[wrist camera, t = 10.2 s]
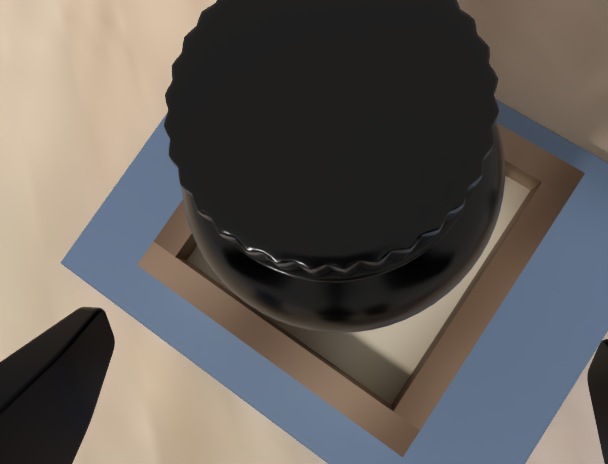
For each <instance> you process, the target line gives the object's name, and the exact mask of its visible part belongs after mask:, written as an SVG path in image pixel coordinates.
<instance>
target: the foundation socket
mask: <svg viewBox="0 0 608 464" xmlns="http://www.w3.org/2000/svg"><path fill="white" fill-rule="evenodd" d="M497 124H498V123H497ZM498 127H499V130H500V134H501V138H502V143H503V149H504V158H505V184H504V194H503V200H502V205H501V209H500V213H499V216H498V220H497V223H496V226H495V228H494V231H493V233H492V235H491V238H490V240H489V242H488V244H487V246H486V247H485V249H484V251H483V253H482V255H481V256H480V258H479V259H478V261H477V262H476V263H475V265H474V266H473V268H472V269H471V270H470V271H469V273H468V274H467V275H466V276H465V277H464V278H463V279H462V281H461V282H460V283H459V284H458V285H457V286H455V287H454V288H453V289H452V290H451V291H450V292H449V293H448V294H447V295H445V296H444V297H443V298H441V299H440V300H439V301H437V302H436V303H435V304H433V305H432V306H430V307H428V308H427V309H425V310H423V311H422V312H420V313H418V314H416V315H414V316H412V317H410V318H408V319H406V320H403V321H401V322H398V323H395V324H392V325H390V326H386V327H382V328H378V329H374V330H368V331H361V332H350V333H332V332H320V331H314V330H307V329H304V328H300V327H296V326H292V325H289V324H286V323H284V322H281V321H278V320H276V319H274V318H272V317H270V316H267V315H265V314H263V313H261V312H260V311H258V310H257V309H255V308H253V307H252V306H250V305H248V304H247V303H246V302H245V301H243V300H242V299H241V298H239V297H238V296H237V295H235V294H234V293H233V292H232V291H231V290H230V289H229V288H228V287H227V286H226V285H225V284H224V283H223V282H222V281H221V280H220V278H219V277H218V276H217V275H216V274H215V273H214V271H213V270H212V269H211V267H210V266H209V264H208V263H207V261H206V260H205V258H204V257H203V255H202V253H201V251H200V249H199V248H198V246H197V243H196V241H195V239H194V237H193V234H192V232H191V229H190V226H189V223H188V220H187V217H186V213H185V208H184V203H183V200H182V201H181V203H180V204H179V206H178V207H177V208H176V210H175V211H174V213H173V214H172V216H171V217H170V218H169V220H168V221H167V223H166V224H165V226H164V227H163V228H162V230H161V231H160V233H159V234H158V236H157V237H156V238H155V240H154V241H153V243H152V244H151V245H150V247H149V248H148V250H147V251H146V253H145V254H144V255H143V257H142V258H141V260H140V261H139V263H138V264H137V265H138V266H139V267H141V268H142V269H143V270H145V271H146V272H148V273H149V274H150V275H152V276H153V277H154V278H156V279H157V280H159V281H160V282H161V283H163V284H164V285H166V286H167V287H168V288H170V289H171V290H172V291H174V292H175V293H177V294H178V295H179V296H181V297H182V298H183V299H185V300H186V301H188V302H189V303H190V304H192V305H193V306H194V307H196V308H197V309H199V310H200V311H201V312H203V313H204V314H205V315H207V316H208V317H210V318H211V319H212V320H214V321H215V322H217V323H218V324H219V325H221V326H222V327H223V328H225V329H226V330H228V331H229V332H230V333H232V334H233V335H234V336H236V337H237V338H239V339H240V340H241V341H243V342H244V343H245V344H247V345H248V346H250V347H251V348H252V349H254V350H255V351H257V352H258V353H259V354H261V355H262V356H263V357H265V358H266V359H268V360H269V361H270V362H272V363H273V364H274V365H276V366H277V367H279V368H280V369H281V370H283V371H284V372H285V373H287V374H288V375H290V376H291V377H292V378H294V379H295V380H297V381H298V382H299V383H301V384H302V385H303V386H305V387H306V388H308V389H309V390H310V391H312V392H313V393H314V394H316V395H317V396H319V397H320V398H321V399H323V400H324V401H325V402H327V403H328V404H330V405H331V406H332V407H334V408H335V409H337V410H338V411H339V412H341V413H342V414H343V415H345V416H346V417H348V418H349V419H350V420H352V421H353V422H354V423H356V424H357V425H359V426H360V427H361V428H363V429H364V430H365V431H367V432H368V433H370V434H371V435H372V436H374V437H375V438H377V439H378V440H379V441H381V442H382V443H383V444H385V445H386V446H388V447H389V448H390V449H392V450H393V451H394V452H396V453H397V454H399V455H400V456H401V457H403V456H404V455H405V453H406V452H407V450H408V449H409V447H410V445H411V444H412V442H413V441H414V439H415V438H416V436H417V435H418V433H419V431H420V430H421V428H422V427H423V425H424V424H425V422H426V421H427V419H428V417H429V416H430V414H431V413H432V411H433V410H434V408H435V406H436V405H437V403H438V402H439V400H440V399H441V397H442V396H443V394H444V392H445V391H446V389H447V388H448V386H449V385H450V383H451V382H452V380H453V378H454V377H455V375H456V374H457V372H458V371H459V369H460V368H461V366H462V364H463V363H464V361H465V360H466V358H467V357H468V355H469V354H470V352H471V350H472V349H473V347H474V346H475V344H476V343H477V341H478V339H479V338H480V336H481V335H482V333H483V332H484V330H485V329H486V327H487V325H488V324H489V322H490V321H491V319H492V318H493V316H494V315H495V313H496V311H497V310H498V308H499V307H500V305H501V304H502V302H503V301H504V299H505V297H506V296H507V294H508V293H509V291H510V290H511V288H512V286H513V285H514V283H515V282H516V280H517V279H518V277H519V276H520V274H521V272H522V271H523V269H524V268H525V266H526V265H527V263H528V262H529V260H530V258H531V257H532V255H533V254H534V252H535V251H536V249H537V248H538V246H539V244H540V243H541V241H542V240H543V238H544V237H545V235H546V233H547V232H548V230H549V229H550V227H551V226H552V224H553V223H554V221H555V219H556V218H557V216H558V215H559V213H560V212H561V210H562V209H563V207H564V205H565V204H566V202H567V201H568V199H569V198H570V196H571V195H572V193H573V191H574V190H575V188H576V187H577V185H578V184H579V182H580V180H581V179H582V177H583V176H584V174H585V173H584V172H582V171H581V170H579V169H577V168H575V167H574V166H572V165H570V164H568V163H567V162H565V161H563V160H561V159H560V158H558V157H556V156H554V155H553V154H551V153H549V152H547V151H546V150H544V149H542V148H540V147H539V146H537V145H535V144H533V143H532V142H530V141H528V140H526V139H525V138H523V137H521V136H519V135H518V134H516V133H514V132H512V131H511V130H509V129H507V128H505V127H504V126H502V125H500V124H498Z"/></svg>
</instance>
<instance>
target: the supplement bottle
mask: <svg viewBox="0 0 608 464" xmlns="http://www.w3.org/2000/svg"><path fill="white" fill-rule="evenodd" d="M489 58H490V49H489V46H488V45H487V44H486V43H485V42H484V41H483V40H482V39H481V38H480V37H479V36H478V35H477V32H476V24H475V20H474V19H473V18H472V17H471V16H469V15H468V14H467V13H465V12H464V11H462V10H461V9H460V8H459V5H458V2H457V0H217V1H216V3H215V4H213V5H212V6H210V7H208V8H207V9H205V10H204V11H202V13H201V15H200V17H199V20H198V23H197V26H196V27H195V28H194V29H192V30H191V31H190V32H189V33H188V34H187V35H186V36H185V37H184V42H183V48H182V53H181V54H180V56H179V57H178V58H177V59H176V60H175V62H174V63H173V65H172V79H173V80H172V82H171V85H170V86H169V87H168V89H167V92H166V94H165V98H166V103H167V106H168V113H167V116H166V118H165V122H164V128H165V131H166V133H167V135H168V136H169V138H170V143H169V158H170V160H171V161H172V162H173V164H174V165H175V166H176V167H177V168H178V173H179V181H180V185H181V187H182V196H183V203H184V208H185V213H186V217H187V220H188V223H189V226H190V229H191V232H192V234H193V237H194V239H195V241H196V243H197V246H198V248H199V249H200V251H201V253H202V255H203V257H204V258H205V260H206V261H207V263H208V264H209V266H210V267H211V269H212V270H213V271H214V273H215V274H216V275H217V276H218V277H219V278H220V280H221V281H222V282H223V283H224V284H225V285H226V286H227V287H228V288H229V289H230V290H231V291H232V292H233V293H234V294H235V295H237V296H238V297H239V298H241V299H242V300H243V301H245V302H246V303H247V304H248V305H250V306H252V307H253V308H255V309H257V310H258V311H260V312H261V313H263V314H265V315H267V316H270V317H272V318H274V319H276V320H278V321H281V322H284V323H286V324H289V325H292V326H296V327H300V328H304V329H307V330H314V331H320V332H332V333H350V332H361V331H368V330H374V329H378V328H382V327H386V326H390V325H392V324H395V323H398V322H401V321H403V320H406V319H408V318H410V317H412V316H414V315H416V314H418V313H420V312H422V311H423V310H425V309H427V308H428V307H430V306H432V305H433V304H435V303H436V302H437V301H439V300H440V299H441V298H443V297H444V296H445V295H447V294H448V293H449V292H450V291H451V290H452V289H453V288H454V287H455V286H457V285H458V284H459V283H460V282H461V281H462V279H463V278H464V277H465V276H466V275H467V274H468V273H469V271H470V270H471V269H472V268H473V266H474V265H475V263H476V262H477V261H478V259H479V258H480V256H481V255H482V253H483V251H484V249H485V247H486V246H487V244H488V242H489V240H490V238H491V235H492V233H493V231H494V228H495V226H496V223H497V220H498V216H499V213H500V209H501V205H502V200H503V194H504V184H505V158H504V149H503V143H502V138H501V134H500V130H499V127H498V124H497V118H498V116H499V108H498V104H497V102H496V100H495V97H494V93H495V91H496V88H497V83H498V78H497V76H496V74H495V72H494V70H493V69H492V68H491V66H490V64H489Z"/></svg>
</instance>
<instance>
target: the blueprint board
mask: <svg viewBox="0 0 608 464" xmlns="http://www.w3.org/2000/svg"><path fill="white" fill-rule="evenodd" d="M495 100H496V99H495ZM496 102H497V104H498V108H499V116H498V118H497V123H498V124H500V125H502V126H504V127H505V128H507V129H509V130H511V131H512V132H514V133H516V134H518V135H519V136H521V137H523V138H525V139H526V140H528V141H530V142H532V143H533V144H535V145H537V146H539V147H540V148H542V149H544V150H546V151H547V152H549V153H551V154H553V155H554V156H556V157H558V158H560V159H561V160H563V161H565V162H567V163H568V164H570V165H572V166H574V167H575V168H577V169H579V170H581V171H582V172H584V173H585V174H584V176H583V177H582V179H581V180H580V182H579V184H578V185H577V187H576V188H575V190H574V191H573V193H572V195H571V196H570V198H569V199H568V201H567V202H566V204H565V205H564V207H563V209H562V210H561V212H560V213H559V215H558V216H557V218H556V219H555V221H554V223H553V224H552V226H551V227H550V229H549V230H548V232H547V233H546V235H545V237H544V238H543V240H542V241H541V243H540V244H539V246H538V248H537V249H536V251H535V252H534V254H533V255H532V257H531V258H530V260H529V262H528V263H527V265H526V266H525V268H524V269H523V271H522V272H521V274H520V276H519V277H518V279H517V280H516V282H515V283H514V285H513V286H512V288H511V290H510V291H509V293H508V294H507V296H506V297H505V299H504V301H503V302H502V304H501V305H500V307H499V308H498V310H497V311H496V313H495V315H494V316H493V318H492V319H491V321H490V322H489V324H488V325H487V327H486V329H485V330H484V332H483V333H482V335H481V336H480V338H479V339H478V341H477V343H476V344H475V346H474V347H473V349H472V350H471V352H470V354H469V355H468V357H467V358H466V360H465V361H464V363H463V364H462V366H461V368H460V369H459V371H458V372H457V374H456V375H455V377H454V378H453V380H452V382H451V383H450V385H449V386H448V388H447V389H446V391H445V392H444V394H443V396H442V397H441V399H440V400H439V402H438V403H437V405H436V406H435V408H434V410H433V411H432V413H431V414H430V416H429V417H428V419H427V421H426V422H425V424H424V425H423V427H422V428H421V430H420V431H419V433H418V435H417V436H416V438H415V439H414V441H413V442H412V444H411V445H410V447H409V449H408V450H407V452H406V453H405V455H404V456H403V457H401V456H400V455H399V454H397V453H396V452H394V451H393V450H392V449H390V448H389V447H388V446H386V445H385V444H383V443H382V442H381V441H379V440H378V439H377V438H375V437H374V436H372V435H371V434H370V433H368V432H367V431H365V430H364V429H363V428H361V427H360V426H359V425H357V424H356V423H354V422H353V421H352V420H350V419H349V418H348V417H346V416H345V415H343V414H342V413H341V412H339V411H338V410H337V409H335V408H334V407H332V406H331V405H330V404H328V403H327V402H325V401H324V400H323V399H321V398H320V397H319V396H317V395H316V394H314V393H313V392H312V391H310V390H309V389H308V388H306V387H305V386H303V385H302V384H301V383H299V382H298V381H297V380H295V379H294V378H292V377H291V376H290V375H288V374H287V373H285V372H284V371H283V370H281V369H280V368H279V367H277V366H276V365H274V364H273V363H272V362H270V361H269V360H268V359H266V358H265V357H263V356H262V355H261V354H259V353H258V352H257V351H255V350H254V349H252V348H251V347H250V346H248V345H247V344H245V343H244V342H243V341H241V340H240V339H239V338H237V337H236V336H234V335H233V334H232V333H230V332H229V331H228V330H226V329H225V328H223V327H222V326H221V325H219V324H218V323H217V322H215V321H214V320H212V319H211V318H210V317H208V316H207V315H205V314H204V313H203V312H201V311H200V310H199V309H197V308H196V307H194V306H193V305H192V304H190V303H189V302H188V301H186V300H185V299H183V298H182V297H181V296H179V295H178V294H177V293H175V292H174V291H172V290H171V289H170V288H168V287H167V286H166V285H164V284H163V283H161V282H160V281H159V280H157V279H156V278H154V277H153V276H152V275H150V274H149V273H148V272H146V271H145V270H143V269H142V268H141V267H139V266H138V265H137V264H138V263H139V261H140V260H141V258H142V257H143V255H144V254H145V253H146V251H147V250H148V248H149V247H150V245H151V244H152V243H153V241H154V240H155V238H156V237H157V236H158V234H159V233H160V231H161V230H162V228H163V227H164V226H165V224H166V223H167V221H168V220H169V218H170V217H171V216H172V214H173V213H174V211H175V210H176V208H177V207H178V206H179V204H180V203H181V201H182V200H183V196H182V187H181V185H180V181H179V173H178V168H177V167H176V166H175V165H174V164H173V162H172V161H171V160H170V158H169V143H170V138H169V136H168V135H167V133H166V131H165V128H164V122H165V118H166V116H167V114H166V116H165V117H164V118H163V120H162V121H161V123H160V124H159V125H158V127H157V128H156V130H155V131H154V132H153V134H152V135H151V137H150V138H149V139H148V141H147V142H146V144H145V145H144V147H143V148H142V149H141V151H140V152H139V154H138V155H137V156H136V158H135V159H134V161H133V162H132V163H131V165H130V166H129V168H128V169H127V170H126V172H125V173H124V175H123V176H122V177H121V179H120V180H119V182H118V183H117V184H116V186H115V187H114V189H113V190H112V191H111V193H110V194H109V196H108V197H107V198H106V200H105V201H104V203H103V204H102V205H101V207H100V208H99V210H98V211H97V212H96V214H95V215H94V217H93V218H92V219H91V221H90V222H89V224H88V225H87V226H86V228H85V229H84V231H83V232H82V233H81V235H80V236H79V238H78V239H77V240H76V242H75V243H74V245H73V246H72V247H71V249H70V250H69V252H68V253H67V254H66V256H65V257H64V259H63V260H62V262H61V264H63V265H64V266H65V267H67V268H68V269H69V270H71V271H72V272H73V273H75V274H76V275H77V276H79V277H80V278H81V279H83V280H84V281H85V282H87V283H88V284H89V285H91V286H92V287H93V288H95V289H96V290H97V291H99V292H100V293H101V294H103V295H104V296H105V297H107V298H108V299H109V300H111V301H112V302H113V303H115V304H116V305H117V306H119V307H120V308H121V309H123V310H124V311H125V312H127V313H128V314H129V315H131V316H132V317H133V318H135V319H136V320H137V321H139V322H140V323H141V324H143V325H144V326H145V327H147V328H148V329H149V330H151V331H152V332H153V333H155V334H156V335H157V336H159V337H160V338H161V339H163V340H164V341H165V342H167V343H168V344H169V345H171V346H172V347H173V348H175V349H176V350H177V351H179V352H180V353H181V354H183V355H184V356H185V357H187V358H188V359H189V360H191V361H192V362H193V363H195V364H196V365H197V366H199V367H200V368H201V369H203V370H204V371H205V372H207V373H208V374H209V375H211V376H212V377H213V378H215V379H216V380H217V381H219V382H220V383H221V384H223V385H224V386H225V387H227V388H228V389H229V390H231V391H232V392H233V393H235V394H236V395H237V396H239V397H240V398H241V399H243V400H244V401H245V402H247V403H248V404H249V405H251V406H252V407H253V408H255V409H256V410H257V411H259V412H260V413H261V414H263V415H264V416H265V417H267V418H268V419H269V420H271V421H272V422H273V423H275V424H276V425H277V426H279V427H280V428H281V429H283V430H284V431H285V432H287V433H288V434H289V435H291V436H292V437H293V438H295V439H296V440H297V441H299V442H300V443H301V444H303V445H304V446H305V447H307V448H308V449H309V450H311V451H312V452H313V453H315V454H316V455H317V456H319V457H320V458H321V459H323V460H324V461H325V462H327V463H328V464H525V463H526V461H527V460H528V458H529V456H530V455H531V453H532V452H533V450H534V448H535V447H536V445H537V443H538V442H539V440H540V439H541V437H542V435H543V434H544V432H545V431H546V429H547V427H548V426H549V424H550V423H551V421H552V419H553V418H554V416H555V415H556V413H557V411H558V410H559V408H560V407H561V405H562V403H563V402H564V400H565V399H566V397H567V395H568V394H569V392H570V390H571V389H572V387H573V386H574V384H575V382H576V381H577V379H578V378H579V376H580V374H581V373H582V371H583V370H584V368H585V366H586V365H587V363H588V362H589V360H590V358H591V357H592V355H593V354H594V352H595V350H596V349H597V347H598V346H599V344H600V342H601V341H602V339H603V338H604V336H605V334H606V333H607V331H608V163H607V162H606V161H604V160H602V159H600V158H599V157H597V156H595V155H593V154H591V153H590V152H588V151H586V150H584V149H583V148H581V147H579V146H577V145H575V144H574V143H572V142H570V141H568V140H567V139H565V138H563V137H561V136H560V135H558V134H556V133H554V132H552V131H551V130H549V129H547V128H545V127H544V126H542V125H540V124H538V123H536V122H535V121H533V120H531V119H529V118H528V117H526V116H524V115H522V114H520V113H519V112H517V111H515V110H513V109H512V108H510V107H508V106H506V105H504V104H503V103H501V102H499V101H497V100H496Z"/></svg>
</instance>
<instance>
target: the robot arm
mask: <svg viewBox="0 0 608 464" xmlns="http://www.w3.org/2000/svg"><path fill="white" fill-rule="evenodd" d="M114 345H115V340H114V335H113V332H112V330H111V327H110V324H109V321H108V318H107V316H106V313H105V311H104V310H103V309H101V308H94V307H81V308H79V309H77V310H76V311H74V312H73V313H71V314H70V315H68V316H67V317H65V318H64V319H62V320H61V321H60V322H58V323H57V324H55V325H54V326H52V327H51V328H49V329H48V330H46V331H45V332H43V333H42V334H41V335H39V336H38V337H36V338H35V339H33V340H32V341H30V342H29V343H27V344H26V345H25V346H23V347H22V348H20V349H19V350H17V351H16V352H14V353H13V354H11V355H10V356H8V357H7V358H6V359H4V360H3V361H1V362H0V464H72V463H73V461H74V458H75V456H76V454H77V452H78V449H79V447H80V445H81V442H82V440H83V438H84V436H85V433H86V431H87V429H88V426H89V424H90V421H91V418H92V416H93V413H94V410H95V407H96V404H97V400H98V397H99V394H100V391H101V388H102V385H103V382H104V379H105V375H106V372H107V369H108V366H109V363H110V360H111V357H112V354H113V350H114ZM588 386H589V391H590V396H591V401H592V406H593V410H594V415H595V420H596V425H597V430H598V435H599V439H600V444H601V449H602V454H603V458H604V462H605V464H608V339H605V340H603V341H602V342H601V343H600V345H599V347H598V349H597V351H596V354H595V356H594V358H593V361H592V363H591V365H590V368H589V370H588Z"/></svg>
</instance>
